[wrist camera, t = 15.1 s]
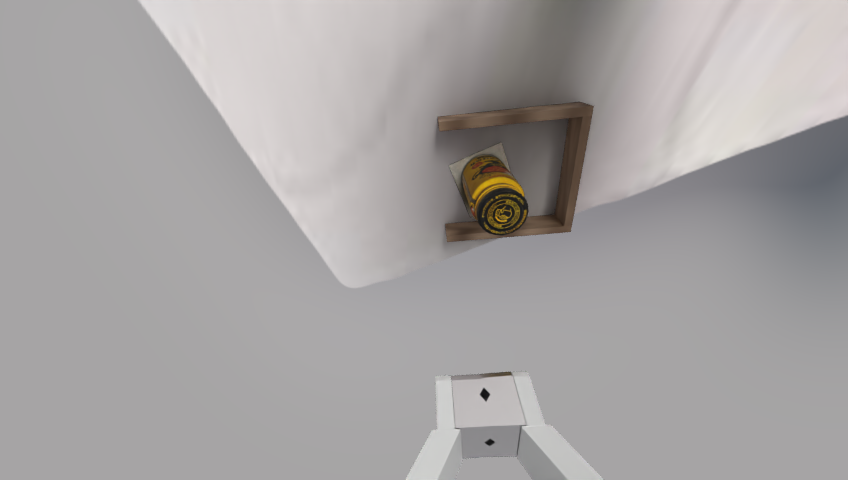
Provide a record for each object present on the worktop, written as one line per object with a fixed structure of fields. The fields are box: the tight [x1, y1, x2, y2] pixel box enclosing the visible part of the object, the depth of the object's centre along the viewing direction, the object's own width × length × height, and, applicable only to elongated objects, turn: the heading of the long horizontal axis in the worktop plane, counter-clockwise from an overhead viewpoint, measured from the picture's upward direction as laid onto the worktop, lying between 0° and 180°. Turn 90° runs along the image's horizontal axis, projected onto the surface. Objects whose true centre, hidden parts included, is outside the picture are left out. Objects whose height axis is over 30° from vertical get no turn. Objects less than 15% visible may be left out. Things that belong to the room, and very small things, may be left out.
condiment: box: [449, 142, 528, 236], centre depth 36 cm, size 7×8×12 cm
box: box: [438, 102, 594, 242], centre depth 39 cm, size 17×16×4 cm
